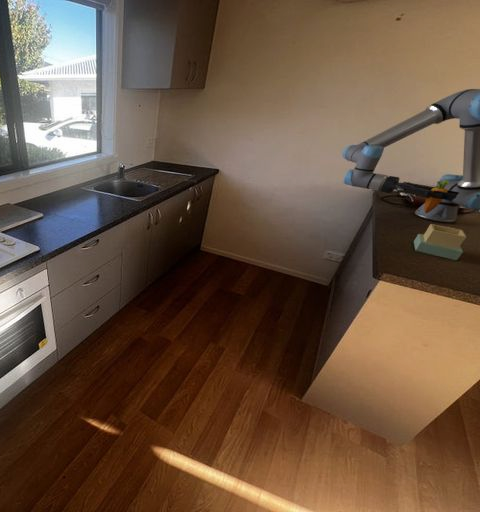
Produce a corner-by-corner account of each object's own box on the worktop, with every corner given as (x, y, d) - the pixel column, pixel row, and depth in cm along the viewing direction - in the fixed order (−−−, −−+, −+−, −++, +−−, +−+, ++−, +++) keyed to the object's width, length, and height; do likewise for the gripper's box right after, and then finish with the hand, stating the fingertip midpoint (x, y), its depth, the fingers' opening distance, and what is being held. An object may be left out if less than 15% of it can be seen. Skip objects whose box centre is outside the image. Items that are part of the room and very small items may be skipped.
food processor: (413, 240, 130) (425, 221, 126) (452, 249, 123) (466, 229, 119) (415, 250, 122) (428, 230, 117) (456, 260, 115) (472, 239, 110)
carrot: (430, 215, 126) (451, 181, 119) (415, 211, 130) (435, 178, 122) (436, 214, 128) (457, 180, 120) (421, 210, 132) (441, 177, 124)
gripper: (386, 188, 143) (454, 201, 127) (374, 194, 135) (445, 209, 118) (394, 173, 140) (465, 184, 123) (382, 178, 131) (457, 191, 114)
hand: (455, 196), depth 121 cm, fingers closed on carrot, 5 cm apart
